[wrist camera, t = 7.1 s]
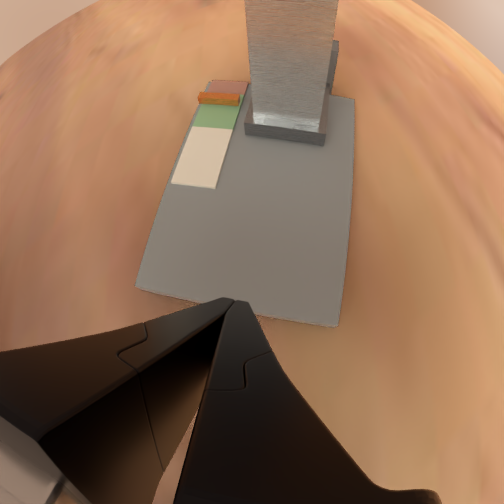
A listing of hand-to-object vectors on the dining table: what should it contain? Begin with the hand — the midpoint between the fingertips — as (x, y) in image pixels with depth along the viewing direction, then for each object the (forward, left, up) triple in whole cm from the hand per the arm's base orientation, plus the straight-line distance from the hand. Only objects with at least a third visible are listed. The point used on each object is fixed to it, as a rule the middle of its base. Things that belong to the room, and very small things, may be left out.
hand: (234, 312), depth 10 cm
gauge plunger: (+13, -7, -6) cm, 15 cm away
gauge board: (+9, -5, -7) cm, 13 cm away
